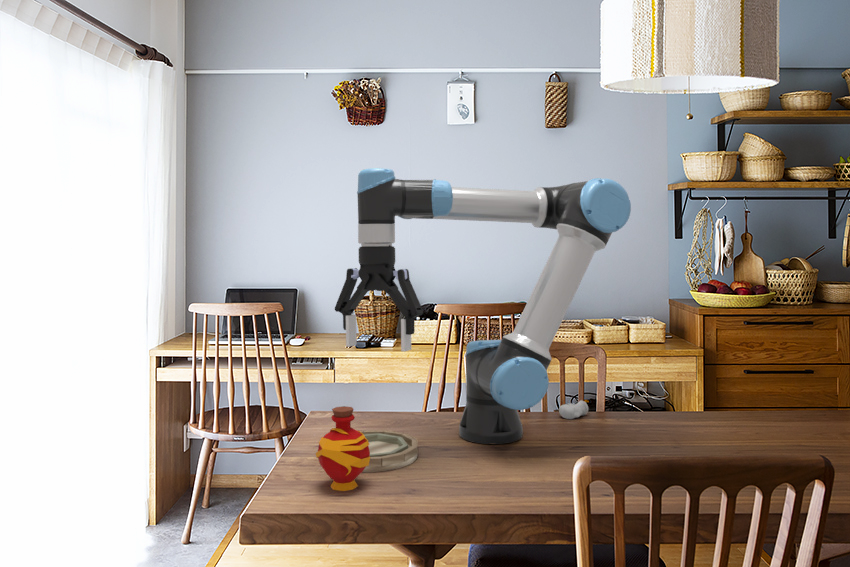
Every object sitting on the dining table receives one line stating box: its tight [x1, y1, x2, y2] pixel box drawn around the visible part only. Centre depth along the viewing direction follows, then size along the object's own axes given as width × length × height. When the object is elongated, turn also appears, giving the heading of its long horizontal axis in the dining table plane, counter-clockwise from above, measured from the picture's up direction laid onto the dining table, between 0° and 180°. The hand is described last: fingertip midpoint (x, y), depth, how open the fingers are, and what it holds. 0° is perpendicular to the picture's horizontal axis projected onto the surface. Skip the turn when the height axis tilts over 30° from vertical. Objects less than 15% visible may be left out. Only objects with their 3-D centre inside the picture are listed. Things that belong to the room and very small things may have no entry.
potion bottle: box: [315, 406, 370, 492], centre depth 126 cm, size 10×10×15 cm
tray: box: [359, 429, 419, 473], centre depth 144 cm, size 20×20×3 cm
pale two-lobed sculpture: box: [558, 399, 589, 420], centre depth 174 cm, size 4×8×5 cm
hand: (378, 348), depth 137 cm, fingers open, 13 cm apart
